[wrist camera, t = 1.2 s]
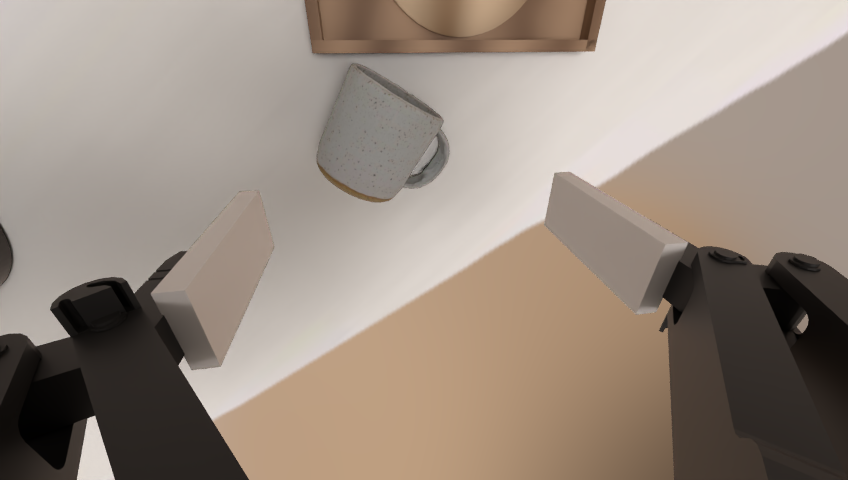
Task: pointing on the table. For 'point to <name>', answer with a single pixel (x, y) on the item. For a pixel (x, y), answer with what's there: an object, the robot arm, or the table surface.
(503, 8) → the tray
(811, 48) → the table surface
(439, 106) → the table surface
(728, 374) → the robot arm
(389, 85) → the ceramic mug
